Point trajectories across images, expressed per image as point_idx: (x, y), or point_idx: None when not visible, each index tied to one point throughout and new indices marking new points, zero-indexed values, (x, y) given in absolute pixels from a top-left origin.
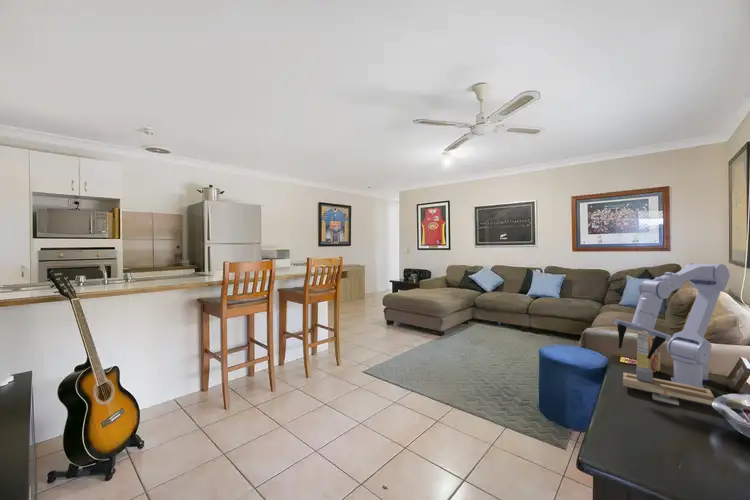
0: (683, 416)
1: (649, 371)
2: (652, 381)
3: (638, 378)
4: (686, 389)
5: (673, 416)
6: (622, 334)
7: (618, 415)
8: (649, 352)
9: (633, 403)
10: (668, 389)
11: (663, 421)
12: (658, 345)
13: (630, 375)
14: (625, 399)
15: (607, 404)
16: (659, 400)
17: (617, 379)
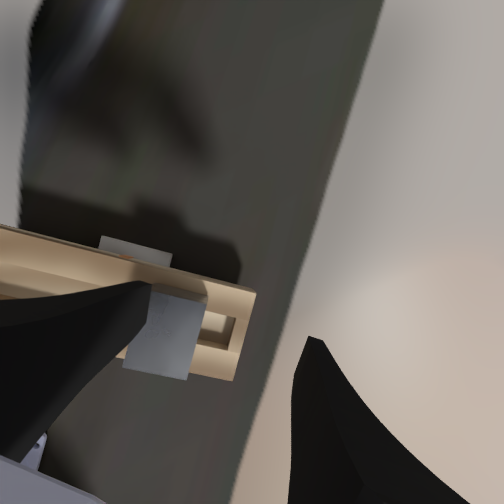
0: (127, 143)
1: (150, 314)
2: (154, 283)
3: (202, 295)
4: (39, 265)
5: (159, 131)
6: (352, 420)
7: (314, 74)
8: (121, 315)
9: (246, 188)
10: (111, 255)
11: (202, 80)
12: (7, 301)
13: (215, 347)
14: (261, 212)
15: (324, 145)
16: (155, 249)
17: (234, 408)
